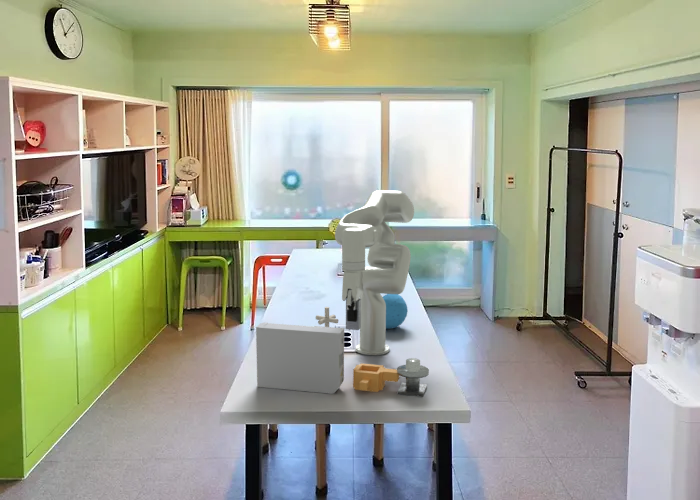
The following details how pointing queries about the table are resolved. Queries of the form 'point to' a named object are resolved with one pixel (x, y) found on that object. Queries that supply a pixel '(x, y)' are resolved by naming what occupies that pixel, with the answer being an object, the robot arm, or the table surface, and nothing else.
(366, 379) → the bracket head
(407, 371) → the grey disc with stub
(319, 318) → the pipe connector
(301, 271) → the table surface
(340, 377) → the game console
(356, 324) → the rectangular block
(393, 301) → the blue ball
